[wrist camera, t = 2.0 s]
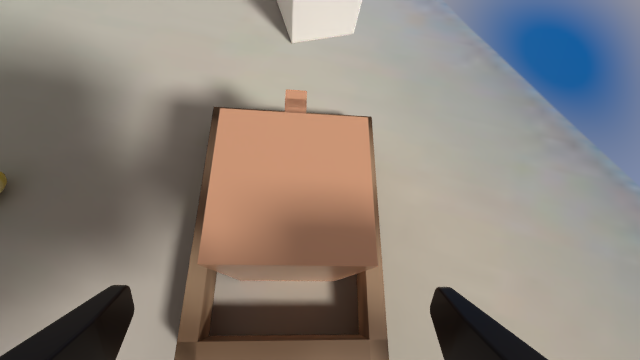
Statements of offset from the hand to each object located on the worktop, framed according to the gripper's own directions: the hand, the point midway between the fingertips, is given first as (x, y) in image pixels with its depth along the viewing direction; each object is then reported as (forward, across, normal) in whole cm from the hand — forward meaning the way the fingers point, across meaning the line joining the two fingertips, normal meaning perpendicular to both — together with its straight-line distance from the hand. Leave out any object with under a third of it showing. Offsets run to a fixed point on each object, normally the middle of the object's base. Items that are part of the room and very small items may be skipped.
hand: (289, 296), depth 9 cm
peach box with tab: (+11, 0, +4) cm, 12 cm away
